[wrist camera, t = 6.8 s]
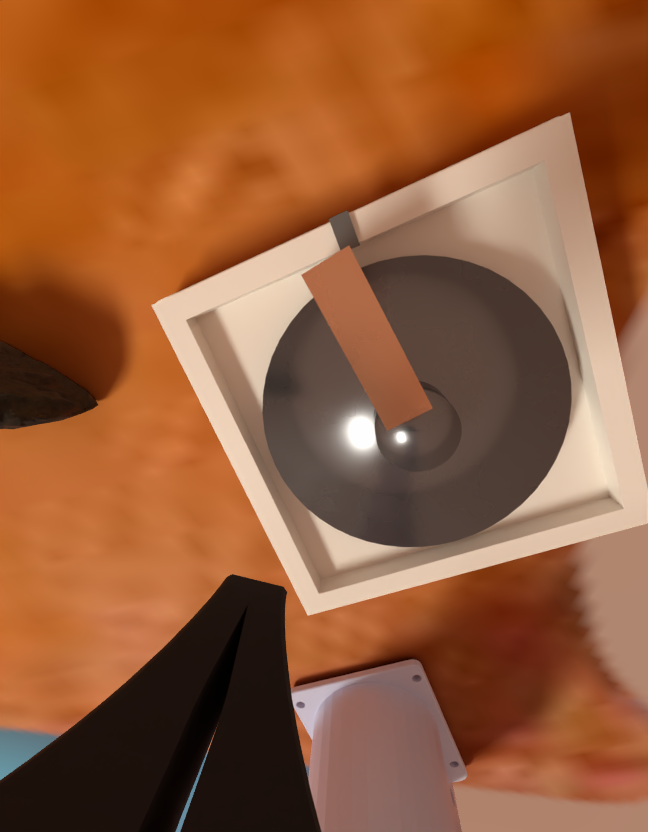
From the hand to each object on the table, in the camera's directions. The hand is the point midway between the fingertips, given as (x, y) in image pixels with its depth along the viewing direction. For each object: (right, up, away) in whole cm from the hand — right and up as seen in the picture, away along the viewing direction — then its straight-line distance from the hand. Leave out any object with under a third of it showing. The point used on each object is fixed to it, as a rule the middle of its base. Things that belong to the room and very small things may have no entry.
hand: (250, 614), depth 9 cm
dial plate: (+5, +5, +9) cm, 12 cm away
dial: (+5, +5, +7) cm, 10 cm away
